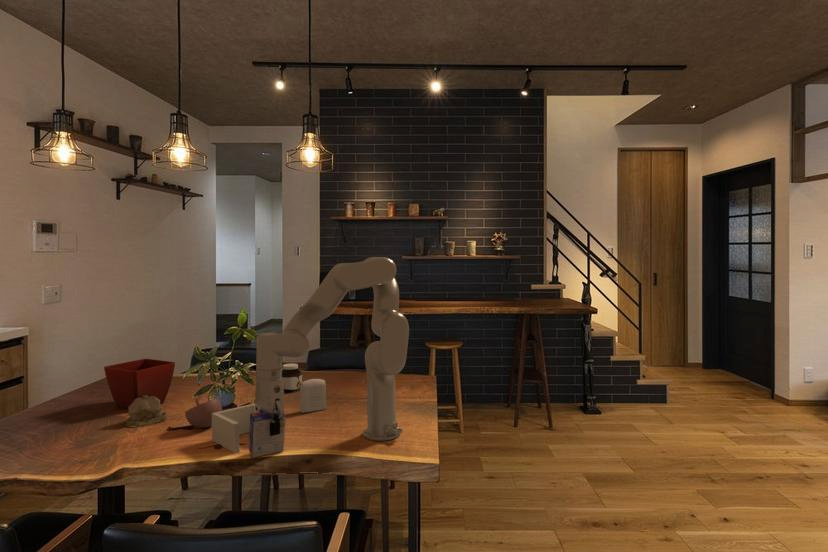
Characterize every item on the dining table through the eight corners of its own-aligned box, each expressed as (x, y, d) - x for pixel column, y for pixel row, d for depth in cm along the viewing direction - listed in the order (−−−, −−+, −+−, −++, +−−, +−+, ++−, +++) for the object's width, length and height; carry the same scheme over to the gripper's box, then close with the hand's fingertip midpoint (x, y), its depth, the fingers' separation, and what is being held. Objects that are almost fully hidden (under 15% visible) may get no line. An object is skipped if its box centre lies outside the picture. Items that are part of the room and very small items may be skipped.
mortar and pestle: (203, 420, 185) (203, 389, 184) (229, 423, 181) (229, 392, 180) (177, 430, 174) (177, 398, 173) (204, 434, 169) (203, 401, 169)
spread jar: (288, 394, 220) (288, 368, 220) (270, 390, 226) (270, 365, 226) (307, 388, 230) (307, 363, 230) (290, 385, 236) (289, 360, 236)
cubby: (279, 439, 164) (279, 412, 164) (234, 453, 153) (234, 424, 153) (255, 428, 175) (255, 403, 175) (212, 440, 164) (211, 413, 164)
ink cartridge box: (279, 442, 159) (282, 400, 155) (284, 451, 154) (287, 409, 151) (247, 448, 153) (249, 406, 150) (252, 458, 149) (254, 415, 145)
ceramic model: (122, 429, 176) (121, 401, 175) (126, 420, 186) (125, 393, 186) (166, 423, 181) (166, 396, 181) (168, 415, 192) (167, 389, 191)
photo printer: (323, 406, 201) (322, 376, 200) (327, 409, 197) (327, 378, 197) (298, 411, 195) (298, 380, 195) (302, 414, 191) (302, 382, 191)
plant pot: (177, 401, 210) (176, 361, 210) (135, 414, 193) (134, 371, 192) (146, 396, 218) (145, 358, 218) (103, 408, 201) (102, 366, 200)
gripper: (295, 376, 148) (294, 436, 148) (265, 367, 160) (265, 422, 161) (272, 380, 143) (271, 442, 143) (243, 370, 155) (243, 427, 155)
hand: (268, 431), depth 152 cm, fingers closed on ink cartridge box, 7 cm apart
